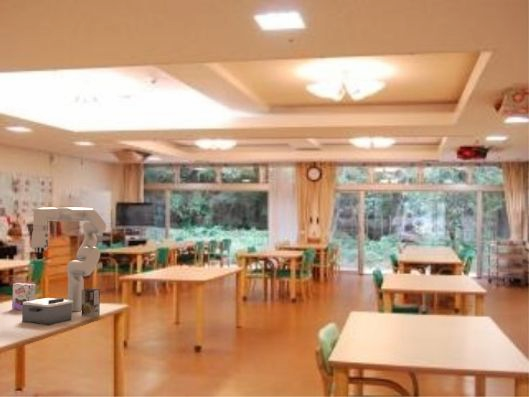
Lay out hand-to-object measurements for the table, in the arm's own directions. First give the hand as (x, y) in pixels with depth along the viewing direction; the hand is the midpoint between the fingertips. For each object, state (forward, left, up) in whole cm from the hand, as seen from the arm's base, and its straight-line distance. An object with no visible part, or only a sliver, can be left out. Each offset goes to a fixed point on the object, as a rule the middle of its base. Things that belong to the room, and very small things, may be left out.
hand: (39, 259), depth 365 cm
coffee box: (-17, +25, -35) cm, 46 cm away
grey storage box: (+8, +15, -34) cm, 39 cm away
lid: (+8, +16, -24) cm, 30 cm away
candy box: (-13, -27, -35) cm, 46 cm away
